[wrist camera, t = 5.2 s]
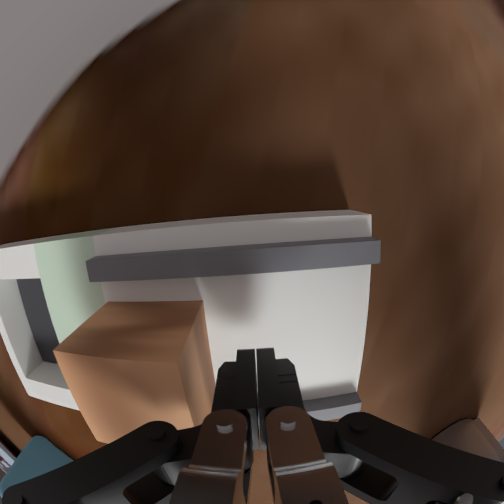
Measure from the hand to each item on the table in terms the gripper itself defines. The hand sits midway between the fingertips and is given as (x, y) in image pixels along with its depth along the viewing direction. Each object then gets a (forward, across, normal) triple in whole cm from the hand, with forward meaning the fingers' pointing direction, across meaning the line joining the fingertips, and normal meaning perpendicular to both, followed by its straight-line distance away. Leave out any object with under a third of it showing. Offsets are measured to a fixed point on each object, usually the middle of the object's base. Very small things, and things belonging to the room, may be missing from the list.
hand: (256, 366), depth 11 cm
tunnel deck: (+5, +6, 0) cm, 8 cm away
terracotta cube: (+2, +5, 0) cm, 5 cm away
